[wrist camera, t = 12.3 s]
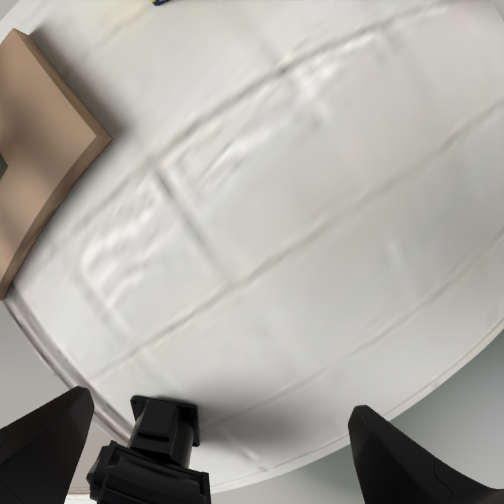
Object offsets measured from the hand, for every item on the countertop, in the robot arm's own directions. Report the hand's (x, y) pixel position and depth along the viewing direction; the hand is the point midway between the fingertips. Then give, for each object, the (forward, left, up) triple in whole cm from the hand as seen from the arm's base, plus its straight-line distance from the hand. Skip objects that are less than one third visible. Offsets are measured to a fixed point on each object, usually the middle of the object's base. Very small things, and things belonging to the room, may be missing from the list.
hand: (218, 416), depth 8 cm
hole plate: (+8, +22, -13) cm, 27 cm away
